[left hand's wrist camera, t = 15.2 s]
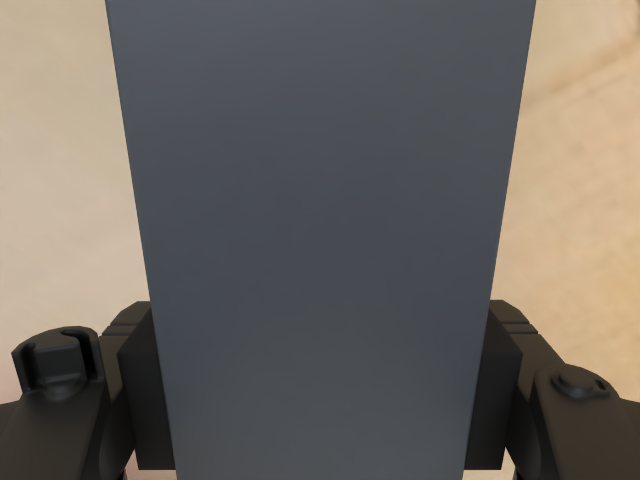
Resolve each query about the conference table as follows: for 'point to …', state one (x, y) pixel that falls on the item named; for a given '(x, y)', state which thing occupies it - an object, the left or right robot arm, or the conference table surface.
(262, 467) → the bar
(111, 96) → the conference table surface
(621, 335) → the conference table surface
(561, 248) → the conference table surface
